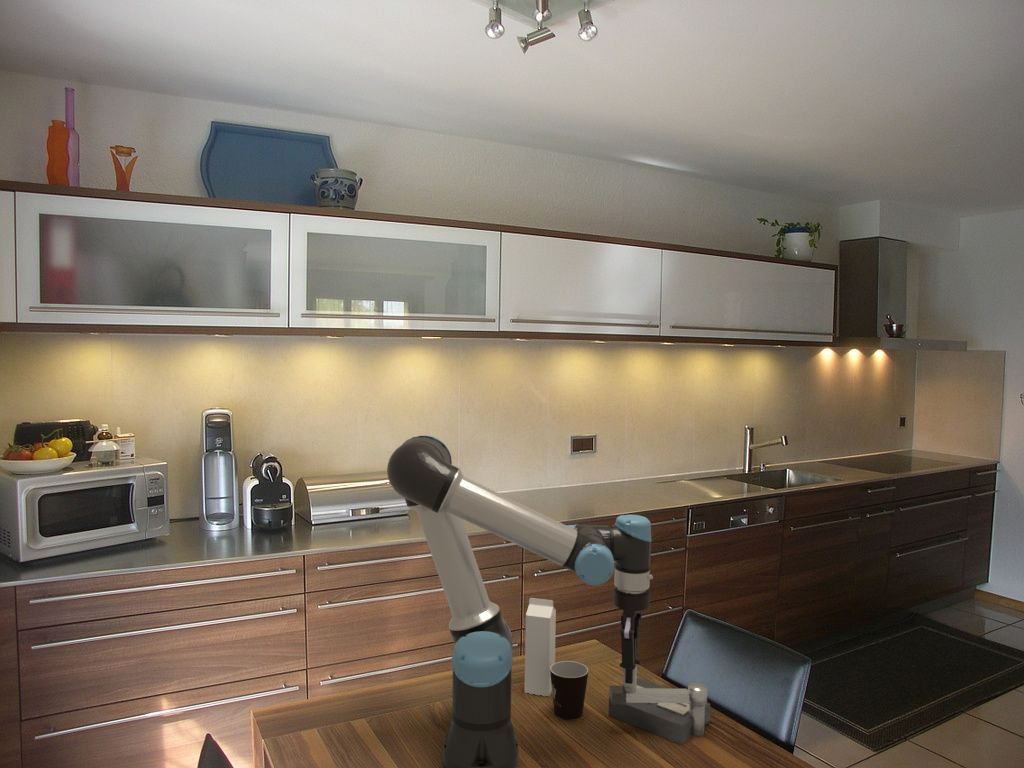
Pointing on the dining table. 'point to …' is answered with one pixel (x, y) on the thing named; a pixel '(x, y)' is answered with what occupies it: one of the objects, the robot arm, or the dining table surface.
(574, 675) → the coffee mug
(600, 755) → the dining table surface
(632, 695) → the lever
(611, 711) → the grey slotted block
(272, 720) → the dining table surface
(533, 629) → the milk
